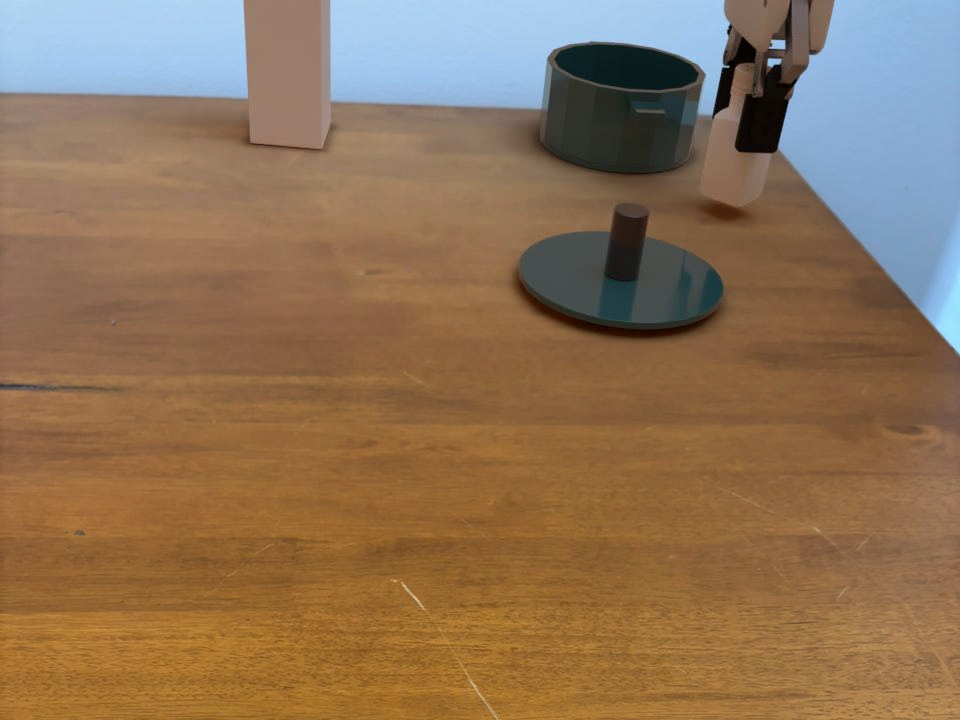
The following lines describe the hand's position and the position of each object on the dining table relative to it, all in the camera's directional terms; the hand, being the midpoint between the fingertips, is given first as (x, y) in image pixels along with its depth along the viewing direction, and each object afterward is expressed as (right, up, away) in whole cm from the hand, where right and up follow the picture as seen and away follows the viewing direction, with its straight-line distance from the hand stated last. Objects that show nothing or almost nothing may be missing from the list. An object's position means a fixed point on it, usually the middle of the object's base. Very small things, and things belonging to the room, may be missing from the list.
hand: (743, 134), depth 90 cm
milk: (-36, +4, +9) cm, 37 cm away
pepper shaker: (0, -4, +3) cm, 5 cm away
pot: (-8, +5, +13) cm, 16 cm away
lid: (-10, -14, -8) cm, 19 cm away
